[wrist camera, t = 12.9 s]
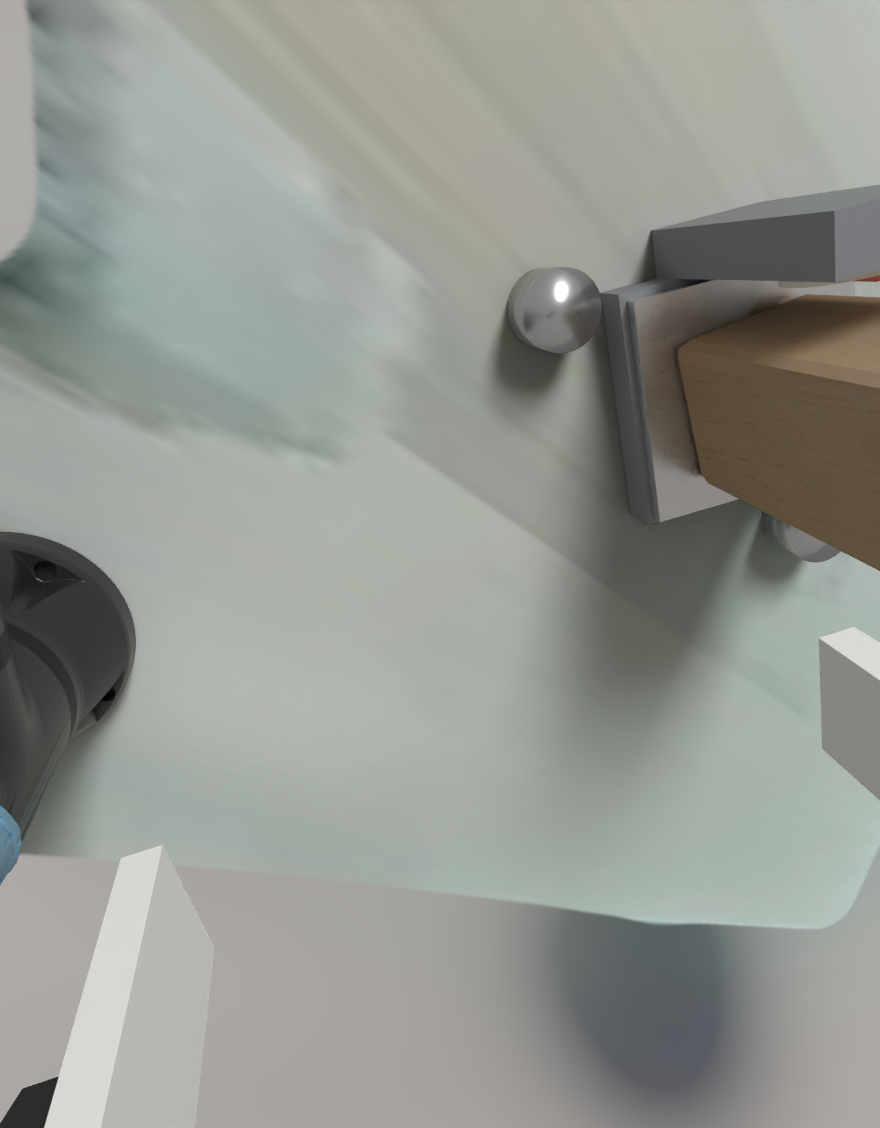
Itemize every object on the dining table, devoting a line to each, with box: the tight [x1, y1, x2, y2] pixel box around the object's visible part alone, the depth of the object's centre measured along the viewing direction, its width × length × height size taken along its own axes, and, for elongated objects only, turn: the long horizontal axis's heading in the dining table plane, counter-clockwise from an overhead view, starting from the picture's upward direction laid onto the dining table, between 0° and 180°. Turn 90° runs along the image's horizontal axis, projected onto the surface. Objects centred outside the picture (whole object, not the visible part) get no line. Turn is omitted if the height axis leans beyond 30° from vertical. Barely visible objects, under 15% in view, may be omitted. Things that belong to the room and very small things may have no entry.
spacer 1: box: [507, 268, 602, 353], centre depth 48 cm, size 5×5×4 cm
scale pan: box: [627, 280, 855, 522], centre depth 52 cm, size 15×15×4 cm
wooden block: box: [678, 294, 880, 571], centre depth 41 cm, size 10×10×20 cm
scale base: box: [600, 185, 880, 526], centre depth 45 cm, size 16×19×18 cm
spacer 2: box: [762, 512, 840, 562], centre depth 57 cm, size 5×5×4 cm
